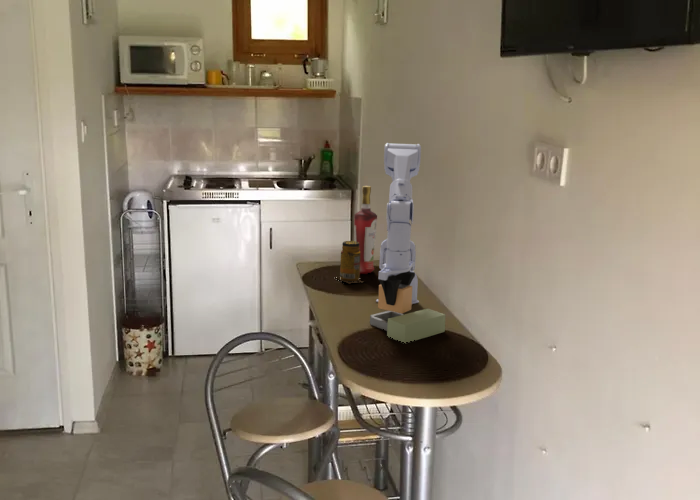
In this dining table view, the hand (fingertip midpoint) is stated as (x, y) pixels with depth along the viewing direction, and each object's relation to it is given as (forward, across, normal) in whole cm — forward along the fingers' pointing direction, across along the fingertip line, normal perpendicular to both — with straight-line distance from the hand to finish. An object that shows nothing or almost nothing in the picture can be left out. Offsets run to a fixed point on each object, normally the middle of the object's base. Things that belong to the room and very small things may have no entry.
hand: (395, 302), depth 178 cm
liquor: (+6, -39, -35) cm, 53 cm away
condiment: (+6, -28, -33) cm, 44 cm away
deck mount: (+6, +1, +2) cm, 7 cm away
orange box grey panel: (+2, 0, 0) cm, 2 cm away
